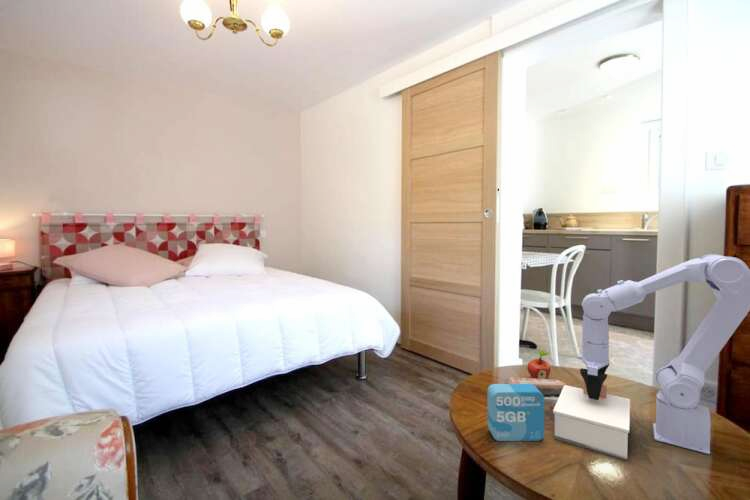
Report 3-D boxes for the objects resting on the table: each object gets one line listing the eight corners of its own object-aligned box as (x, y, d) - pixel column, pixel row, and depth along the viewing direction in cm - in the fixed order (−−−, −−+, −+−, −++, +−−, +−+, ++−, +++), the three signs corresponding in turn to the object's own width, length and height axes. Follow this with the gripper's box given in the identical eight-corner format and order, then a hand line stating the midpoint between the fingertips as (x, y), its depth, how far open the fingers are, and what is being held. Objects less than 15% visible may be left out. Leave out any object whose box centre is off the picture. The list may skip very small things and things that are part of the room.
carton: (628, 426, 87) (628, 402, 87) (627, 460, 75) (627, 433, 74) (565, 410, 96) (565, 388, 95) (554, 438, 83) (554, 414, 83)
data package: (492, 441, 83) (492, 392, 82) (487, 430, 87) (487, 383, 86) (544, 441, 82) (544, 391, 81) (536, 430, 87) (536, 383, 86)
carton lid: (630, 401, 87) (630, 388, 87) (629, 433, 74) (629, 417, 74) (564, 387, 96) (564, 374, 96) (553, 413, 83) (553, 399, 82)
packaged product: (510, 386, 101) (502, 373, 111) (510, 403, 101) (503, 387, 111) (577, 389, 98) (563, 374, 108) (576, 406, 99) (563, 390, 109)
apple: (549, 387, 109) (549, 356, 109) (525, 383, 113) (525, 352, 112) (551, 378, 116) (551, 349, 115) (529, 374, 120) (529, 346, 119)
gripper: (580, 331, 97) (580, 379, 98) (573, 346, 85) (573, 400, 86) (611, 335, 93) (610, 385, 94) (607, 351, 81) (607, 408, 82)
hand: (594, 393), depth 90 cm, fingers open, 6 cm apart
